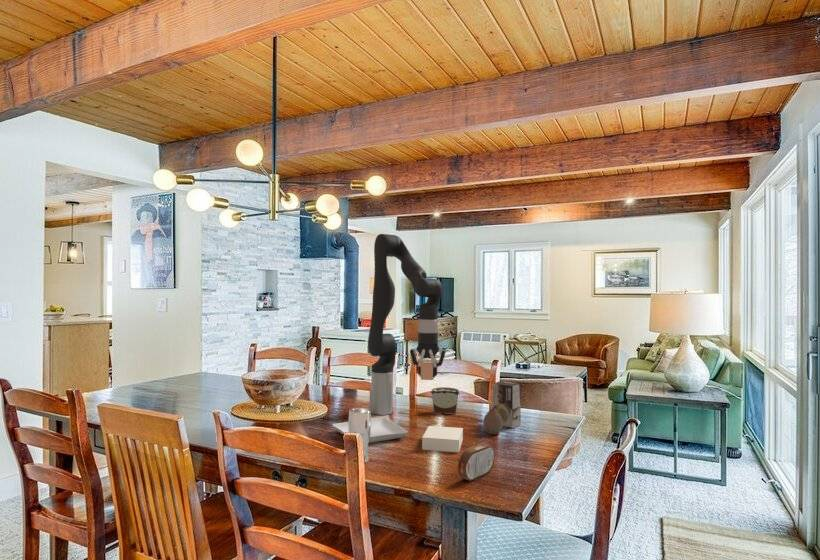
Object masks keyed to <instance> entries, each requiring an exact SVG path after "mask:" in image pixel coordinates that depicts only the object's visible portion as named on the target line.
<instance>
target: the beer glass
mask: <svg viewBox="0 0 820 560" xmlns="http://www.w3.org/2000/svg"><path fill="white" fill-rule="evenodd" d="M371 419H372V413H371V410H370V409H369V408H365V407H354V408H350V409H349V411H348V421H347V422H348V430H349V433H359V434H360V435H361V436H362V439H363V446H364V457H365V462H364V463H368V462H369V461H370V454H369V444H370V443H369V438H370V432H371Z"/></svg>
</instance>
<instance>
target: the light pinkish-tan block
mask: <svg viewBox="0 0 820 560" xmlns="http://www.w3.org/2000/svg"><path fill="white" fill-rule="evenodd" d="M433 367H434V366H433V362H432V361H423V362H422V363H421V377H420V380H421V381H425V380H426V381H433V380H434V379H435V377H433Z"/></svg>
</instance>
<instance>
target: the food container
mask: <svg viewBox="0 0 820 560" xmlns="http://www.w3.org/2000/svg"><path fill="white" fill-rule="evenodd" d="M430 395H431V397H432V406H433V414H441V413H445V415H450V414H451V415H456V414H457V407H458V397H459V396H460V391H459V389H457V388H454V387H449V386H447V387H446V386H445V387H444V386H441V387H434V388H431V391H430Z"/></svg>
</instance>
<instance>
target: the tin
mask: <svg viewBox="0 0 820 560" xmlns="http://www.w3.org/2000/svg"><path fill="white" fill-rule="evenodd" d="M495 452H496V451H495V448H494V447H493V446H492V445H490V444H488V443H485V442H481V443H479V444H476V445H474V446H471V447H468V448H466V449H465V450H463V451H462V453H461V455H460V456H459V459H458V462H457V472H458V476H459V477H460V478H461V479H464V480H466V481H470V482H472V481H473V480H476V479H480V477H483V476H486V475H487V474H489V473H490V472H491V471H492V469H493V467H494V463H495V458H496V457H495V456H496V455H495V454H496V453H495Z"/></svg>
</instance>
